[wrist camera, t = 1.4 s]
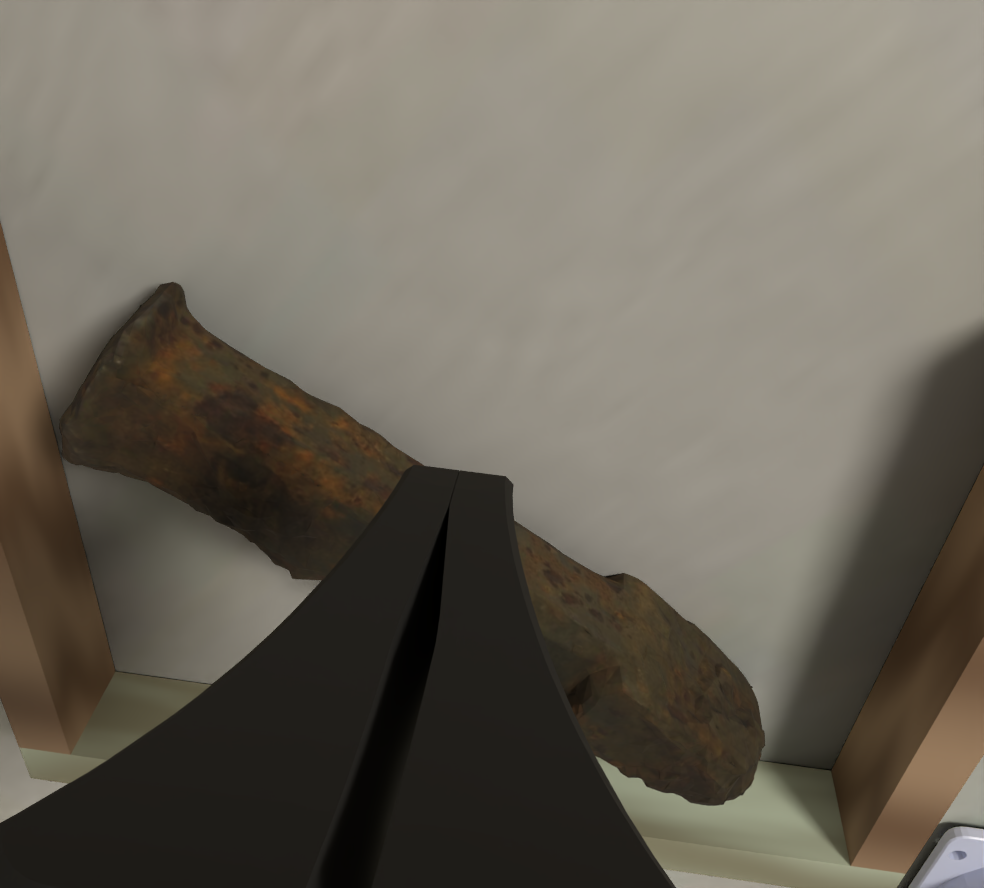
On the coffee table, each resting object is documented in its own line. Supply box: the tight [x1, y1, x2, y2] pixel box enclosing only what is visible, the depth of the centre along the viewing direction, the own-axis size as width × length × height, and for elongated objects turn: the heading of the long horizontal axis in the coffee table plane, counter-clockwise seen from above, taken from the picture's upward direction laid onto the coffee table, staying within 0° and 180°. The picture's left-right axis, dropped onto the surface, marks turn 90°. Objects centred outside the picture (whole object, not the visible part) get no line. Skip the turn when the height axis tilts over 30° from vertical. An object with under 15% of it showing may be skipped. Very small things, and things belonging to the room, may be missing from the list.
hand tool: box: [59, 282, 765, 806], centre depth 23 cm, size 19×4×5 cm, turn 53°
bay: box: [0, 223, 984, 888], centre depth 23 cm, size 18×25×3 cm
